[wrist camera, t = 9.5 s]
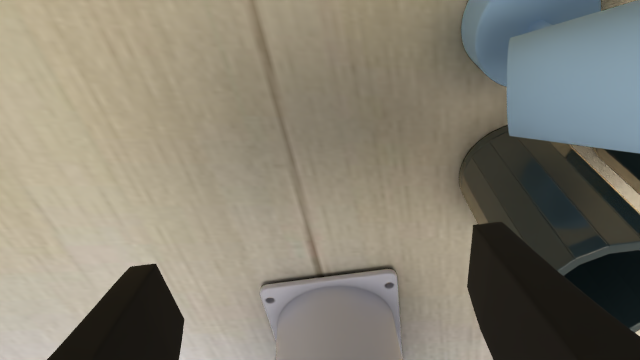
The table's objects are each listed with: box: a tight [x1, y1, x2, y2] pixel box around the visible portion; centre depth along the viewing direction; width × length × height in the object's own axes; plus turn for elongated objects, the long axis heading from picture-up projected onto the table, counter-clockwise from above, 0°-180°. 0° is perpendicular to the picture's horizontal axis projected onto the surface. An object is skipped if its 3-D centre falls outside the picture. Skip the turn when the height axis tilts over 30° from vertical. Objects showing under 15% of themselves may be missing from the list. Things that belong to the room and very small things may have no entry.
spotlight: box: [461, 0, 640, 154], centre depth 13 cm, size 5×10×7 cm
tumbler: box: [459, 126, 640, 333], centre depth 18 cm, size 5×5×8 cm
